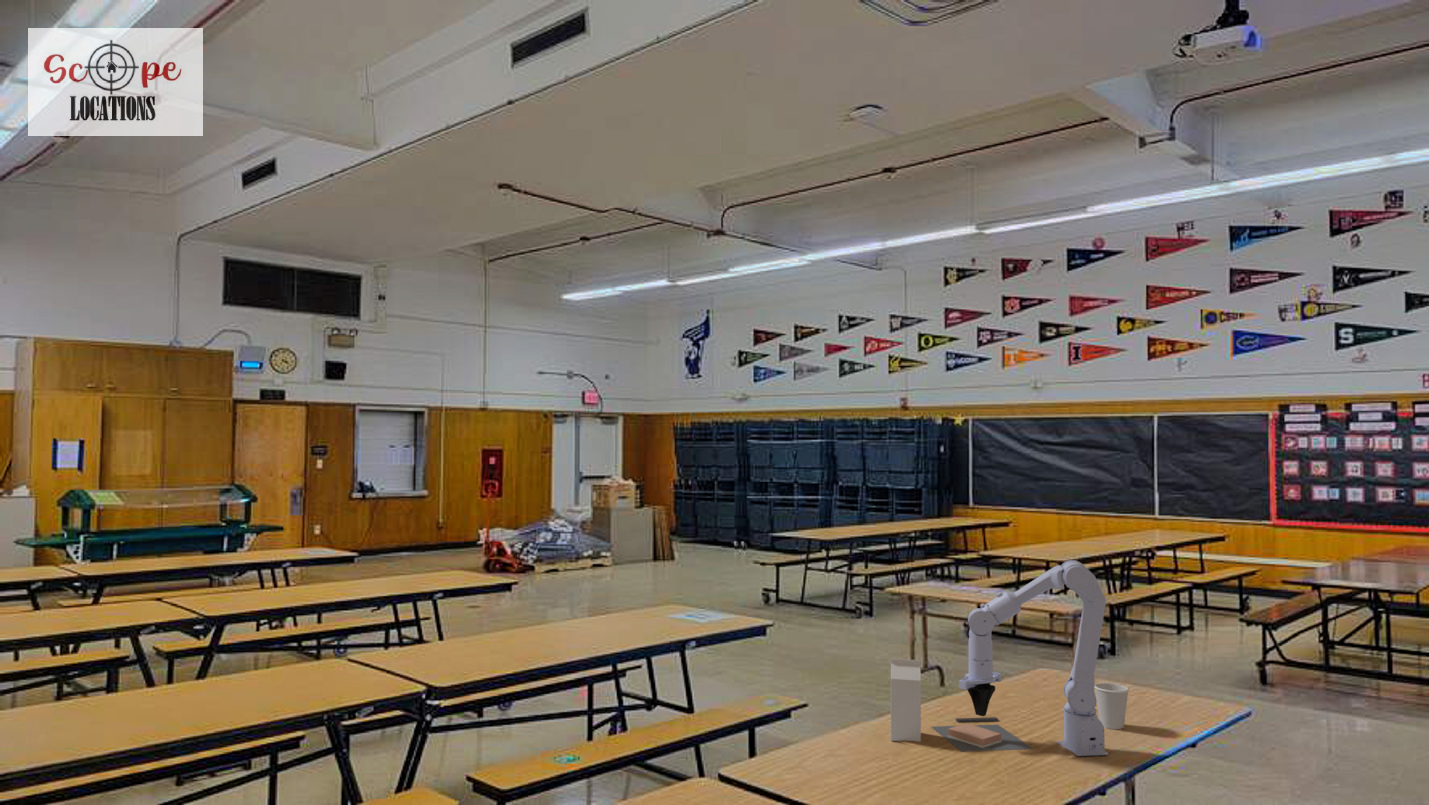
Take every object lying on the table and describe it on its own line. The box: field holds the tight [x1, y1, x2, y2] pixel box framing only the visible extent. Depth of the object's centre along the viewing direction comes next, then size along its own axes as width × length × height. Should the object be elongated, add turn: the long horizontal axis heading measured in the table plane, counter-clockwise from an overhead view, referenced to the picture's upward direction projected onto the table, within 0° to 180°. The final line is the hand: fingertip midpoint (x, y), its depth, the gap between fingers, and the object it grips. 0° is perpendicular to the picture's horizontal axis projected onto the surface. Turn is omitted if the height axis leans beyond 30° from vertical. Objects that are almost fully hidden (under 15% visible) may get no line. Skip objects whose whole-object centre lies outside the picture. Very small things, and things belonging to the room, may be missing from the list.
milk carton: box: [890, 658, 922, 742], centre depth 221 cm, size 7×7×19 cm
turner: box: [955, 716, 999, 723], centre depth 233 cm, size 19×7×1 cm, turn 98°
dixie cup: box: [1094, 682, 1130, 730], centre depth 233 cm, size 8×8×10 cm
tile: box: [948, 722, 1001, 748], centre depth 219 cm, size 2×10×8 cm
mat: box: [931, 724, 1034, 753], centre depth 220 cm, size 19×18×1 cm
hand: (980, 715), depth 221 cm, fingers closed
